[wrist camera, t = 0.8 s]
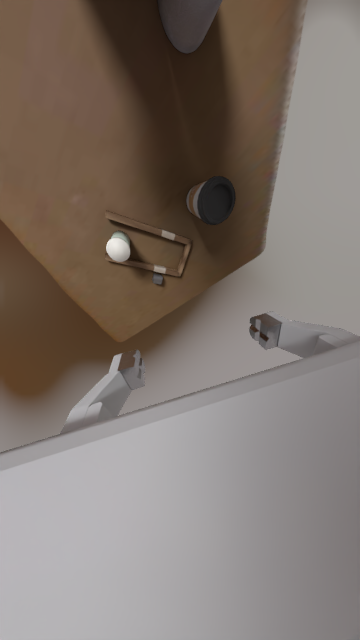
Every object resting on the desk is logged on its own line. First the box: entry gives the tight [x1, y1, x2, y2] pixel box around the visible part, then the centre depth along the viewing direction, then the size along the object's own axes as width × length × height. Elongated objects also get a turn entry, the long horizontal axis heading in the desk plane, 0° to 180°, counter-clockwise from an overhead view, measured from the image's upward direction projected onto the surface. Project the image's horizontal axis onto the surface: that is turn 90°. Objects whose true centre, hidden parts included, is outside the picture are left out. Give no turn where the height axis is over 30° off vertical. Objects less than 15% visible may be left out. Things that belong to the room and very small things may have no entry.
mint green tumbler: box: [106, 231, 130, 262], centre depth 39 cm, size 5×5×11 cm
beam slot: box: [105, 211, 192, 284], centre depth 46 cm, size 16×25×3 cm, turn 72°
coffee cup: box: [187, 176, 235, 225], centre depth 36 cm, size 8×8×15 cm
